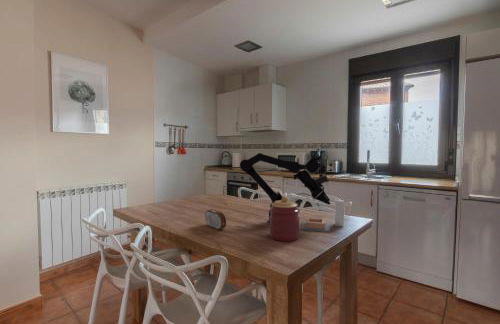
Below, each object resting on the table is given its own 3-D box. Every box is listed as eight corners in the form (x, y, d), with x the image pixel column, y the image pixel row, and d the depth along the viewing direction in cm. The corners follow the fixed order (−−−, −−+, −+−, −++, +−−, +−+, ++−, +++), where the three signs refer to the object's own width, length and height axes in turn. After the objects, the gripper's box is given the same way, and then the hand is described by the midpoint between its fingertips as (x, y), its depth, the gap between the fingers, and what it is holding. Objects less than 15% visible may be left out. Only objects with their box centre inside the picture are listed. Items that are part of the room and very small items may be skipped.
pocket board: (301, 230, 124) (301, 223, 124) (303, 222, 137) (303, 216, 137) (329, 232, 121) (329, 225, 121) (329, 224, 133) (329, 218, 133)
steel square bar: (335, 225, 131) (335, 201, 131) (334, 223, 135) (335, 199, 134) (343, 226, 130) (344, 201, 130) (343, 224, 134) (343, 200, 133)
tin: (226, 230, 124) (226, 212, 123) (221, 231, 122) (221, 213, 121) (209, 223, 135) (209, 207, 135) (204, 225, 133) (203, 208, 133)
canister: (283, 244, 105) (284, 200, 105) (263, 235, 116) (263, 195, 115) (305, 237, 113) (306, 197, 112) (284, 230, 123) (285, 193, 123)
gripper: (318, 170, 125) (342, 194, 123) (318, 168, 143) (340, 188, 141) (301, 186, 128) (325, 210, 125) (304, 182, 146) (324, 202, 143)
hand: (329, 202), depth 133 cm, fingers open, 9 cm apart
